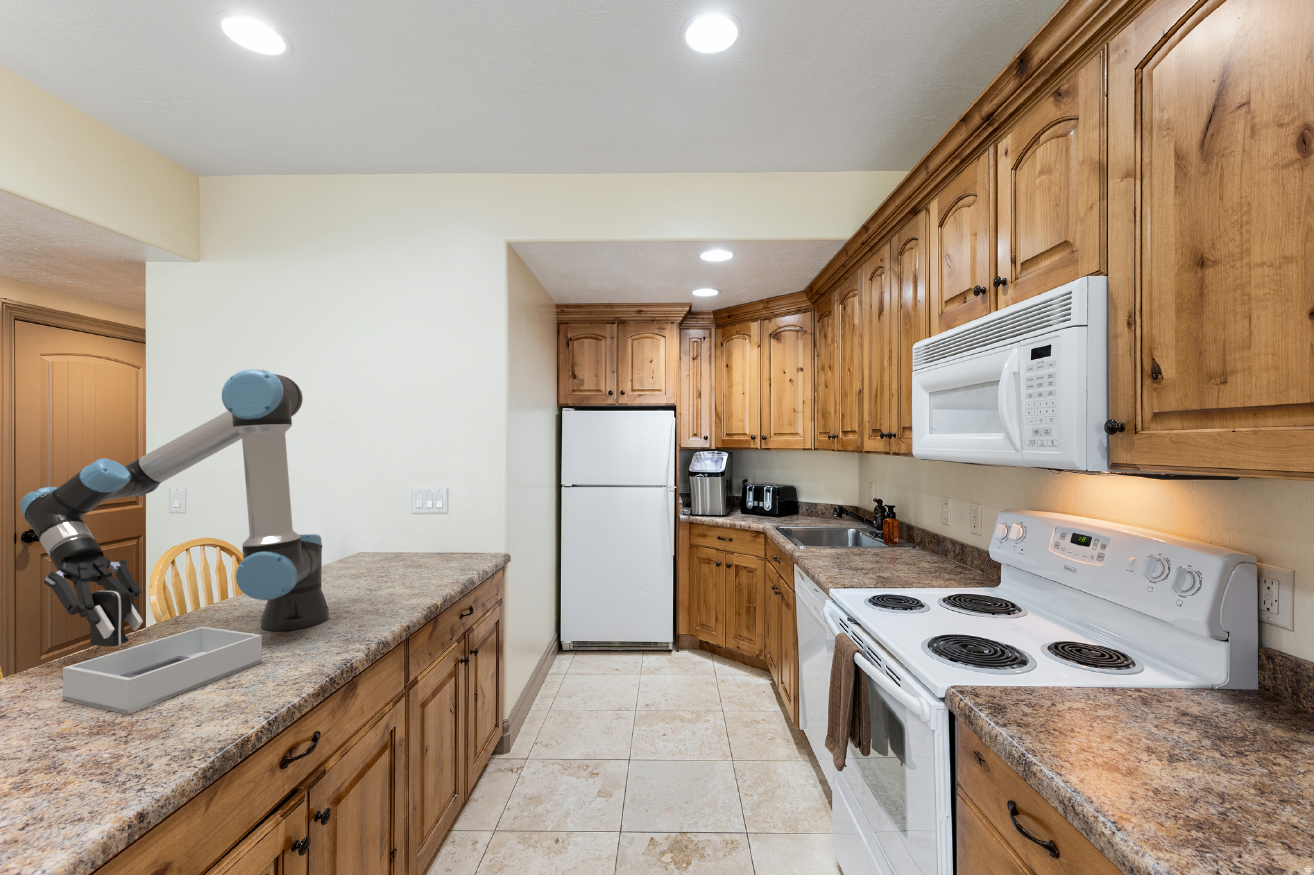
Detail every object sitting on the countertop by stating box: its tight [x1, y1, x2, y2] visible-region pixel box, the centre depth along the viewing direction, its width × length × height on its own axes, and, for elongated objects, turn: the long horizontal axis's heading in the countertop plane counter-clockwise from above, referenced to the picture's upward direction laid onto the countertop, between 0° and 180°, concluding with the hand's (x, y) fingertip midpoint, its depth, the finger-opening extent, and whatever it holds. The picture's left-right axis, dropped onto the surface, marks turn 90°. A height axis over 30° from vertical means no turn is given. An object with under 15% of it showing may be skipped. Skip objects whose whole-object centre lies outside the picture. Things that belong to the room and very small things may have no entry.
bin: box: [62, 626, 263, 715], centre depth 112 cm, size 24×18×6 cm
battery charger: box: [89, 589, 132, 647], centre depth 119 cm, size 7×4×11 cm, turn 80°
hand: (123, 629), depth 118 cm, fingers closed on battery charger, 4 cm apart
